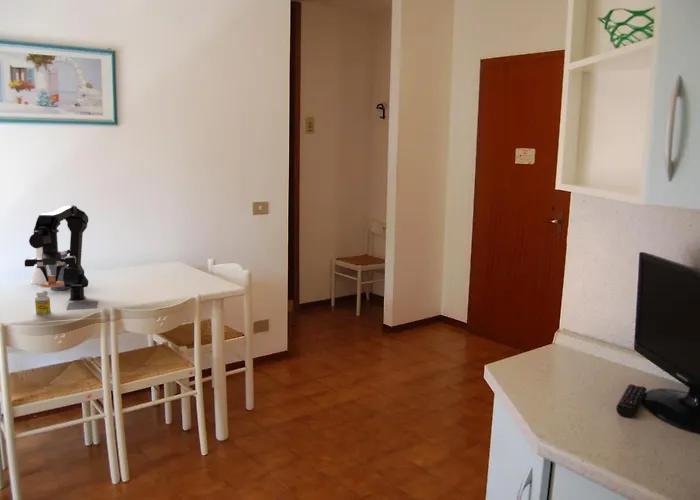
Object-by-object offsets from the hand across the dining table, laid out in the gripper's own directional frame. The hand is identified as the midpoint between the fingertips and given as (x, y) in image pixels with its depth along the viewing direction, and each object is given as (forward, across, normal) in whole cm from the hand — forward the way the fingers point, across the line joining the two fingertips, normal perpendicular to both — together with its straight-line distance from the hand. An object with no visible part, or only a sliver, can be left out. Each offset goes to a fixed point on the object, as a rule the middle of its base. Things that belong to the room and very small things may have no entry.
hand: (52, 281), depth 248 cm
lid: (+2, 0, 0) cm, 2 cm away
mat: (+13, +11, +6) cm, 18 cm away
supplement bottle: (+14, -4, -1) cm, 14 cm away
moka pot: (+13, 0, +45) cm, 46 cm away
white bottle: (+13, -9, +61) cm, 63 cm away
